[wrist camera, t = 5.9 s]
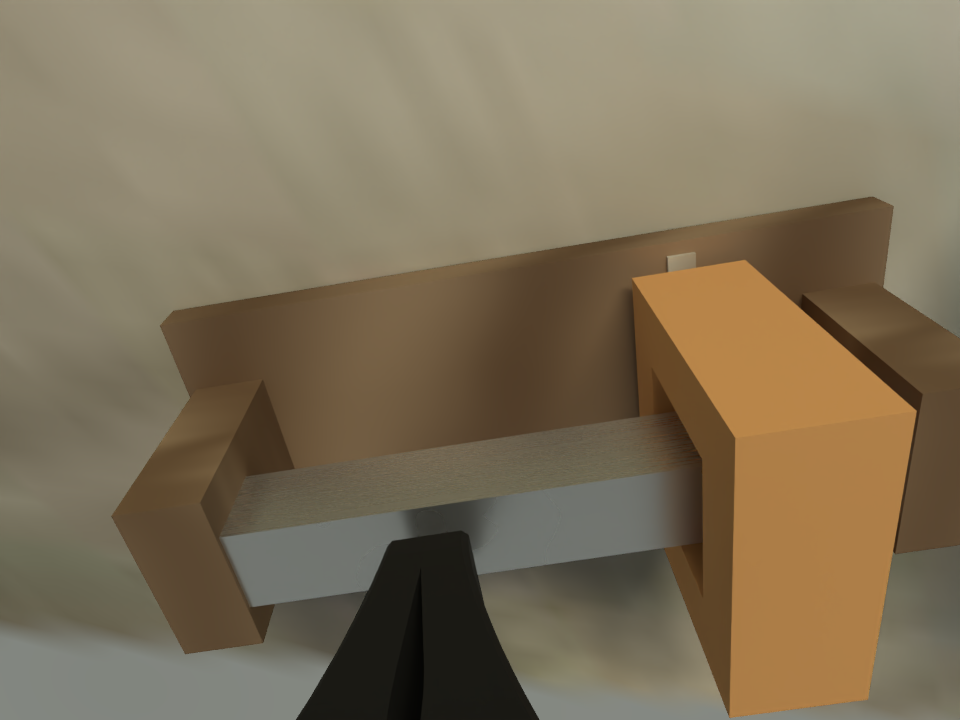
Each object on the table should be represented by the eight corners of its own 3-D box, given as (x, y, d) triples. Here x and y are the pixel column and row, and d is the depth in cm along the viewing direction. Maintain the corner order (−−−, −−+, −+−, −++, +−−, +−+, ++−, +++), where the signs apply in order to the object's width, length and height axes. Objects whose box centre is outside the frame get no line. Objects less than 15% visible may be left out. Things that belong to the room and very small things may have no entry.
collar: (745, 259, 14) (916, 411, 9) (739, 483, 17) (867, 699, 12) (631, 278, 14) (735, 438, 9) (644, 497, 17) (729, 717, 12)
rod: (934, 357, 13) (1016, 418, 11) (918, 448, 14) (991, 517, 12) (170, 474, 14) (125, 549, 12) (206, 552, 15) (170, 634, 13)
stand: (873, 196, 15) (1059, 281, 10) (843, 452, 18) (975, 603, 14) (173, 311, 16) (57, 438, 11) (265, 537, 19) (204, 708, 14)
